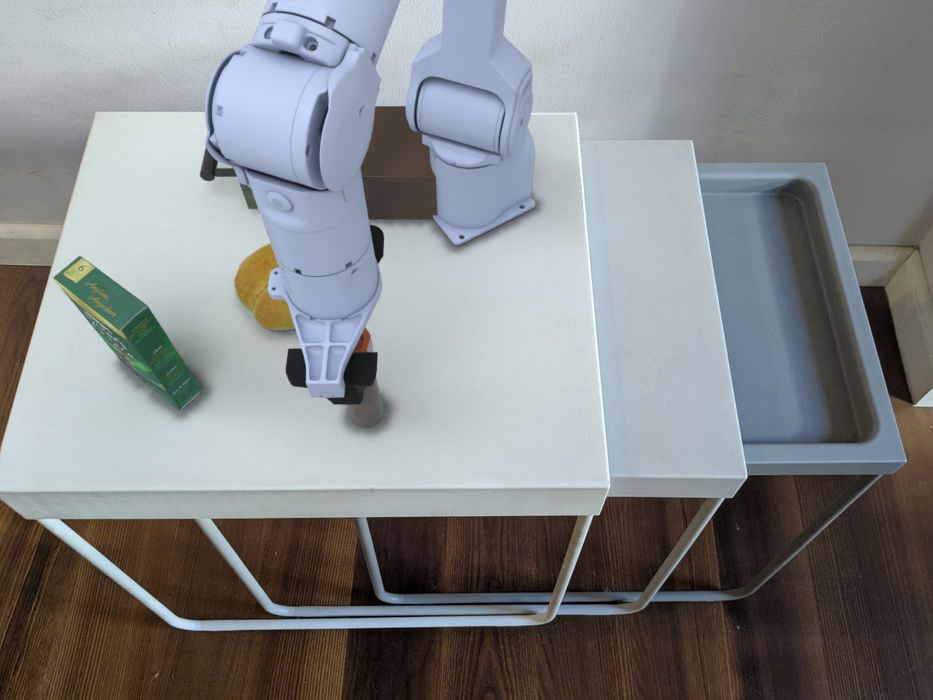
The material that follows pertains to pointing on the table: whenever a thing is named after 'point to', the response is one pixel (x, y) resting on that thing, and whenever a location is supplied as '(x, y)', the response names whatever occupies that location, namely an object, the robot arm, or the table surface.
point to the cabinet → (397, 169)
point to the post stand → (368, 408)
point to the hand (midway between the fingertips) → (350, 352)
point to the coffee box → (129, 331)
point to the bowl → (364, 342)
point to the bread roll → (262, 290)
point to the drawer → (211, 171)
